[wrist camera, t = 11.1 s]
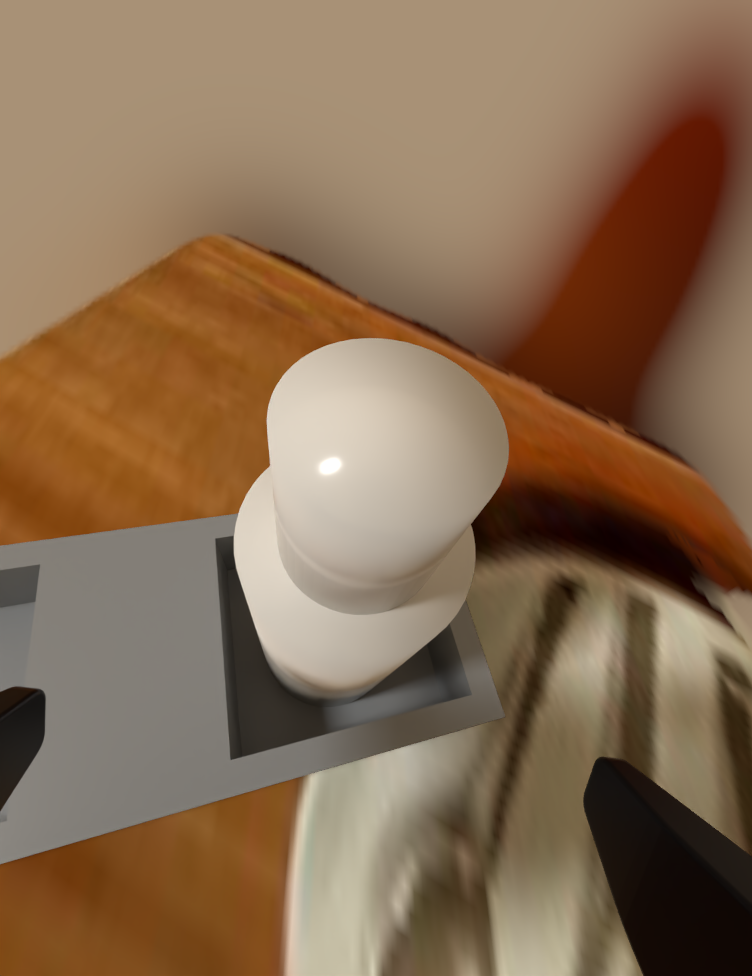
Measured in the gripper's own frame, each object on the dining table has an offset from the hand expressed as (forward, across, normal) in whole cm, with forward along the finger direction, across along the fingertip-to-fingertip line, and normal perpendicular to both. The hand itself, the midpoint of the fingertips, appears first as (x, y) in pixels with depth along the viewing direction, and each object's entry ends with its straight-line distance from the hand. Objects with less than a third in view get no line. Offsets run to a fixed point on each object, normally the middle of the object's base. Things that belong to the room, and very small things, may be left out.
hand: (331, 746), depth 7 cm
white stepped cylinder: (+9, 0, +3) cm, 9 cm away
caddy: (+8, +5, +5) cm, 11 cm away
